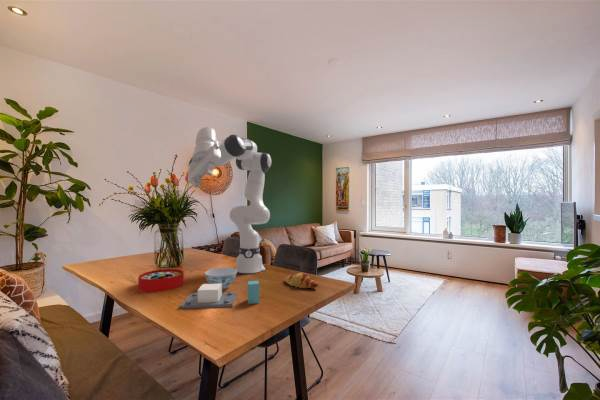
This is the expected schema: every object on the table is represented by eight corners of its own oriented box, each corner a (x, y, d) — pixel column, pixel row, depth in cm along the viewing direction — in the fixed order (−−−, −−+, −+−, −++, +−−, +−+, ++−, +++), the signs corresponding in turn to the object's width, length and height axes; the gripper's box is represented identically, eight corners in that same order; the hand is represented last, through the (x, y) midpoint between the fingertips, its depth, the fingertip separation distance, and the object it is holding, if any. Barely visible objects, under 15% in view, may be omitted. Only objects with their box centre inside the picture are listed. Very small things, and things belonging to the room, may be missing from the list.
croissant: (281, 289, 139) (276, 277, 136) (292, 276, 146) (287, 264, 143) (314, 297, 125) (309, 284, 123) (324, 283, 132) (320, 270, 130)
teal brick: (247, 300, 114) (247, 281, 114) (258, 299, 115) (258, 280, 115) (248, 304, 110) (248, 284, 110) (259, 303, 111) (259, 283, 111)
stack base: (190, 296, 118) (190, 282, 118) (236, 295, 120) (236, 281, 120) (179, 308, 105) (179, 292, 105) (232, 306, 107) (232, 291, 107)
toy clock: (192, 270, 141) (163, 281, 121) (192, 281, 141) (163, 294, 121) (160, 267, 146) (128, 277, 127) (160, 278, 146) (127, 290, 127)
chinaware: (242, 287, 131) (242, 271, 131) (213, 295, 120) (214, 277, 120) (227, 280, 141) (227, 266, 141) (199, 287, 131) (199, 271, 131)
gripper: (225, 144, 111) (224, 169, 103) (199, 171, 122) (197, 195, 114) (211, 137, 107) (209, 162, 99) (186, 165, 118) (182, 190, 110)
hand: (202, 180), depth 106 cm, fingers open, 8 cm apart
